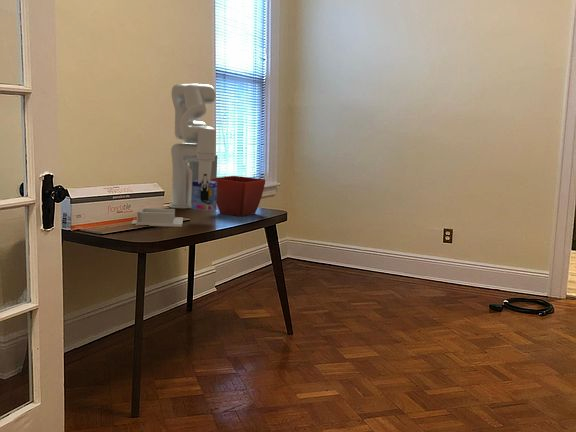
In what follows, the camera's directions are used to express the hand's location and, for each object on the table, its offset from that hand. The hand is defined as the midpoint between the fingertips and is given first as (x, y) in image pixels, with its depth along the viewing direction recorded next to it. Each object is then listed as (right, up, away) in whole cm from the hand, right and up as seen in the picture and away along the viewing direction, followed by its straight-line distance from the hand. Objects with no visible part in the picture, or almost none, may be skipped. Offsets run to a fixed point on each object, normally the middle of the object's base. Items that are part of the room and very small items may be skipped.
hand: (204, 198), depth 248 cm
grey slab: (-10, 0, +62) cm, 62 cm away
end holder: (-19, -10, -4) cm, 22 cm away
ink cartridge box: (0, -5, +1) cm, 5 cm away
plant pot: (+12, -7, +30) cm, 33 cm away
